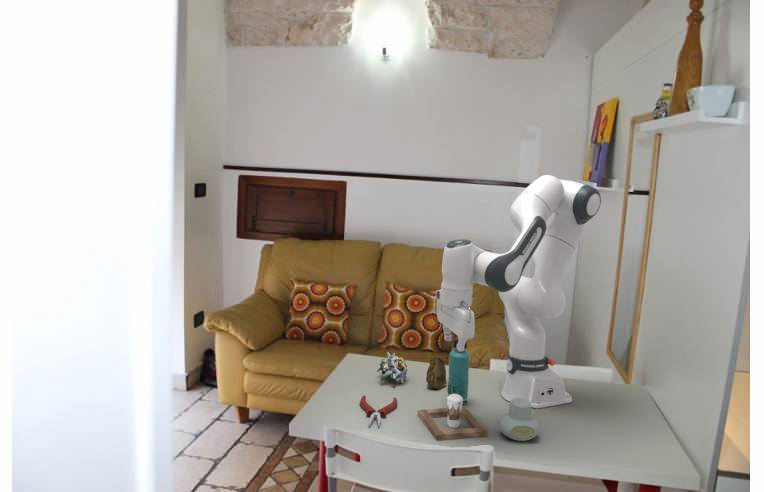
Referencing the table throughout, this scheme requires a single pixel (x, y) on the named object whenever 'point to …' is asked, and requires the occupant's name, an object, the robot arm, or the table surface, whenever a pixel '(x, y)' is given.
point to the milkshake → (454, 410)
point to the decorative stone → (436, 373)
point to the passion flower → (394, 367)
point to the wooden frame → (440, 434)
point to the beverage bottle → (458, 372)
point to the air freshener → (519, 421)
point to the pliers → (380, 413)
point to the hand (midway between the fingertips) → (454, 345)
